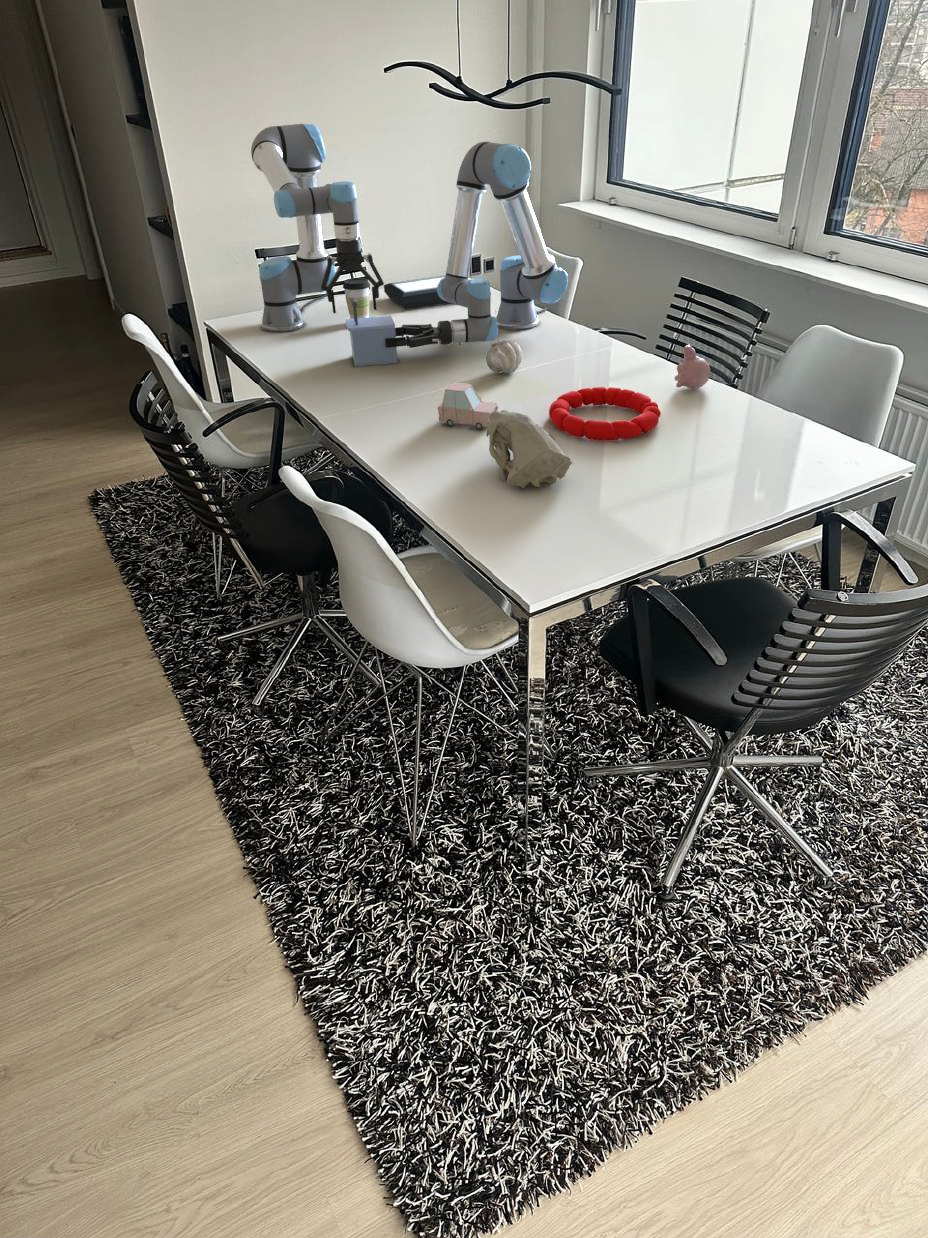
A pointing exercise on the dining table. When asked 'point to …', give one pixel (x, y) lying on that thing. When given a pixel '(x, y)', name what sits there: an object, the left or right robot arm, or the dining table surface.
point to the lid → (368, 321)
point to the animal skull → (525, 450)
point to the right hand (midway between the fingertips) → (383, 337)
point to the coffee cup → (357, 296)
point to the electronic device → (415, 292)
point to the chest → (373, 347)
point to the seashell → (504, 356)
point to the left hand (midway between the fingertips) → (354, 310)
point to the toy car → (465, 406)
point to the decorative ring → (604, 428)
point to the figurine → (692, 370)
